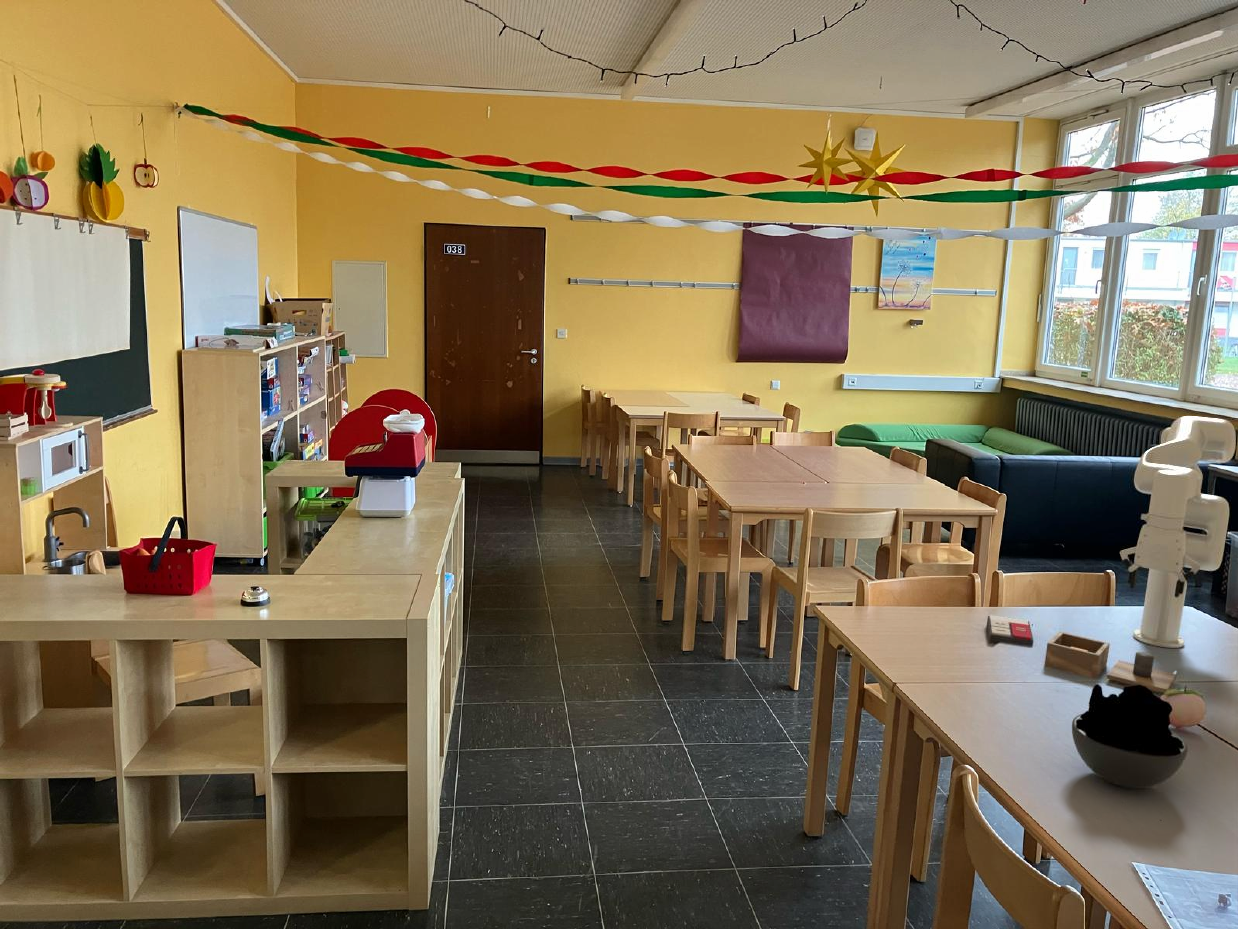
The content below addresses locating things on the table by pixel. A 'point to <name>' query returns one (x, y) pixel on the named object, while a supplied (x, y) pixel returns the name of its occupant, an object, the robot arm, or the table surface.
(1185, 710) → the decorative fruit
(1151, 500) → the robot arm
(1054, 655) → the storage box
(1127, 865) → the table surface
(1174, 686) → the mat
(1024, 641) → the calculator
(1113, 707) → the coal bowl
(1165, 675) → the lid
